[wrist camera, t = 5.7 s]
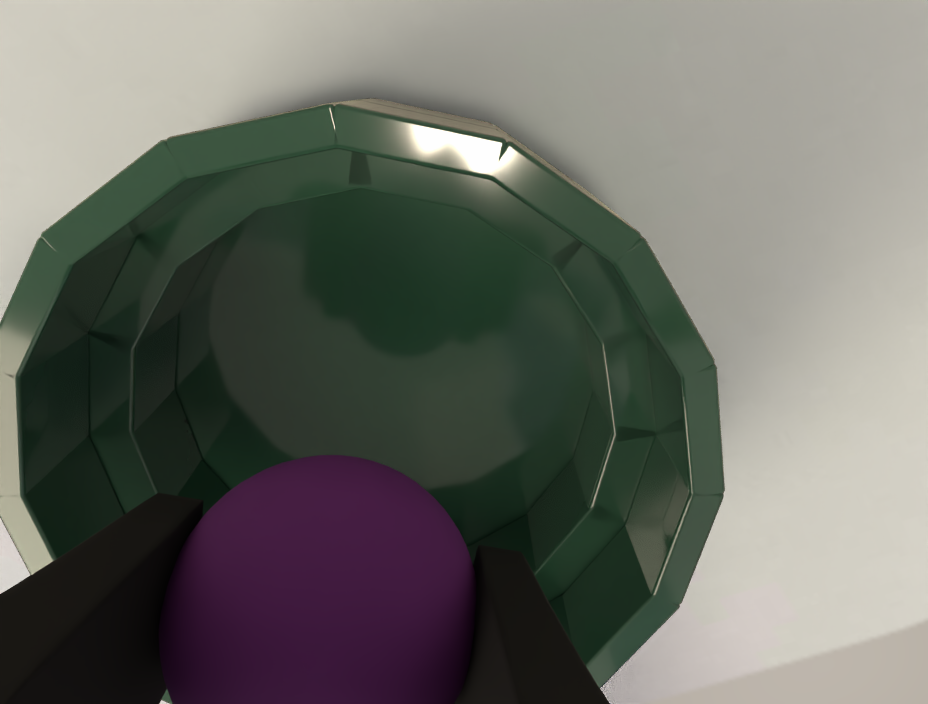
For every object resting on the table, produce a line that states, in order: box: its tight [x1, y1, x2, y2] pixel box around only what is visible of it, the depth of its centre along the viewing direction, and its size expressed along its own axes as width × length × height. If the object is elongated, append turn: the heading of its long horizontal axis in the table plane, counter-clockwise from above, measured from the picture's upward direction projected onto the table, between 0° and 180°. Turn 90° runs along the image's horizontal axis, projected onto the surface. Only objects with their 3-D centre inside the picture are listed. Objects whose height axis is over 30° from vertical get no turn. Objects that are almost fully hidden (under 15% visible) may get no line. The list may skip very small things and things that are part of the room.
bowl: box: [0, 98, 725, 704], centre depth 14 cm, size 12×12×5 cm
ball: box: [158, 455, 477, 704], centre depth 9 cm, size 4×4×4 cm
